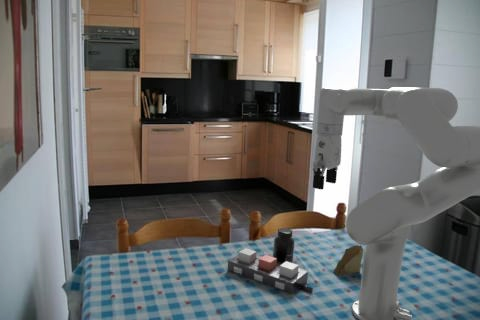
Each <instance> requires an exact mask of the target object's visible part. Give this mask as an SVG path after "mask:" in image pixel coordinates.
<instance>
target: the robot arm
mask: <svg viewBox="0 0 480 320" xmlns="http://www.w3.org/2000/svg"><path fill="white" fill-rule="evenodd" d="M318 99H319V101H318V110H317V120H316V122H317V123H316V134H317V137H316V145H315V149H314V159H313V160H314V161H312V162H313V163H312V165H313V166H312V171H313V172H312V174H313V177H312V178H313V180H312V188H313V189H317V190H324V185H325V183H329V184H336V183H337V175H338V168H339V166H340V165H341V162H342V160H341V159H342V136H343V129H344V118H345V116H375V117H376V116H377V117H384V118H385V119H386V120H387V121H389V122H394V123H395V122H396V123H400V124H401V126H402V128H404V130H405V131H406V133H407V135H409V137H410V138H411V139H412V141H413V142H414V143H415V145H416V146H417V147H418V148H419V150H420V151H421V152H422V153H421V154H423V155H424V156H425V158H426V159H428V161H429V162H430V163H432V164H434V165H435V166H438V167H440V168H438V169H436V170H435V171H433V172H431V173H430V174H429V175H427V176H425V177H423V178H422V179H419V180H417V181H416V182H413V183H407V184H401V185H395V186H390V187H385V188H384V189H381V190H379V191H377V192H376V193H375V194H373V195H372V196H370V197H368V198H367V199H366V200H364V201H362V202H360V203H359V204H358V205H357V206H355V207H354V208H353V209H352V210H351V211H350V212H349V214H348V215H347V218H346V221H345V229H346V232H347V235H348V237H350V239H351V240H352V241H354V242H355V243H357V244H360V245H365V249H364V252H363V261H362V271H361V280H360V287H359V296H358V300H356V301H354V302H353V304H352V306H351V312H352V314H353V316H354V317H355V318H357V319H358V320H413V315H412V314H410V312H411V311H410V310H408V309H405V308H401V306H400V301H399V300H398V293H399V292H398V291H399V287H400V286H399V284H400V277H401V271H402V266H403V265H402V264H403V257H404V252H405V248H406V244H407V240H408V237H409V234H410V231H411V226H414V225H418V224H421V223H422V224H423V223H424V222H427V221H429V220H430V219H432V218H434V217H435V216H438V215H439V214H441V213H442V212H444V211H446V210H448V209H450V208H452V207H453V206H455V205H457V204H458V203H460V202H462V201H463V200H466V199H467V198H469V197H471V196H472V195H474V194H476V193H478V192H479V191H480V126H478V125H456V126H453V125H452V124H451V123H450V121H451V120H453V118H455V116H456V114H457V113H458V109H459V108H458V107H459V103H458V99H457V97H456V96H455V95H454V94H453V93H452V92H451V91H449V90H447V89H444V88H440V87H418V86H417V87H406V86H403V87H402V86H399V87H398V86H394V87H393V86H392V87H390V88H389V89H386V88H385V89H382V88H381V89H380V88H366V87H365V88H363V87H362V88H361V87H333V86H328V87H327V86H325V87H322V88H321V89H320V91H319V98H318ZM325 173H326V175H325Z"/></svg>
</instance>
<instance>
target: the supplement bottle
mask: <svg viewBox="0 0 480 320" xmlns="http://www.w3.org/2000/svg"><path fill="white" fill-rule="evenodd" d="M294 249H295V240H294V238H293V230H292V229H290V228H287V227H280V228H277V236H275V238H274V239H273V249H272V257H274V258H277V261H278V262H281V263H284V262H286V261H287V262H290V263H293V262H294V251H295V250H294ZM293 264H294V263H293Z"/></svg>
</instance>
